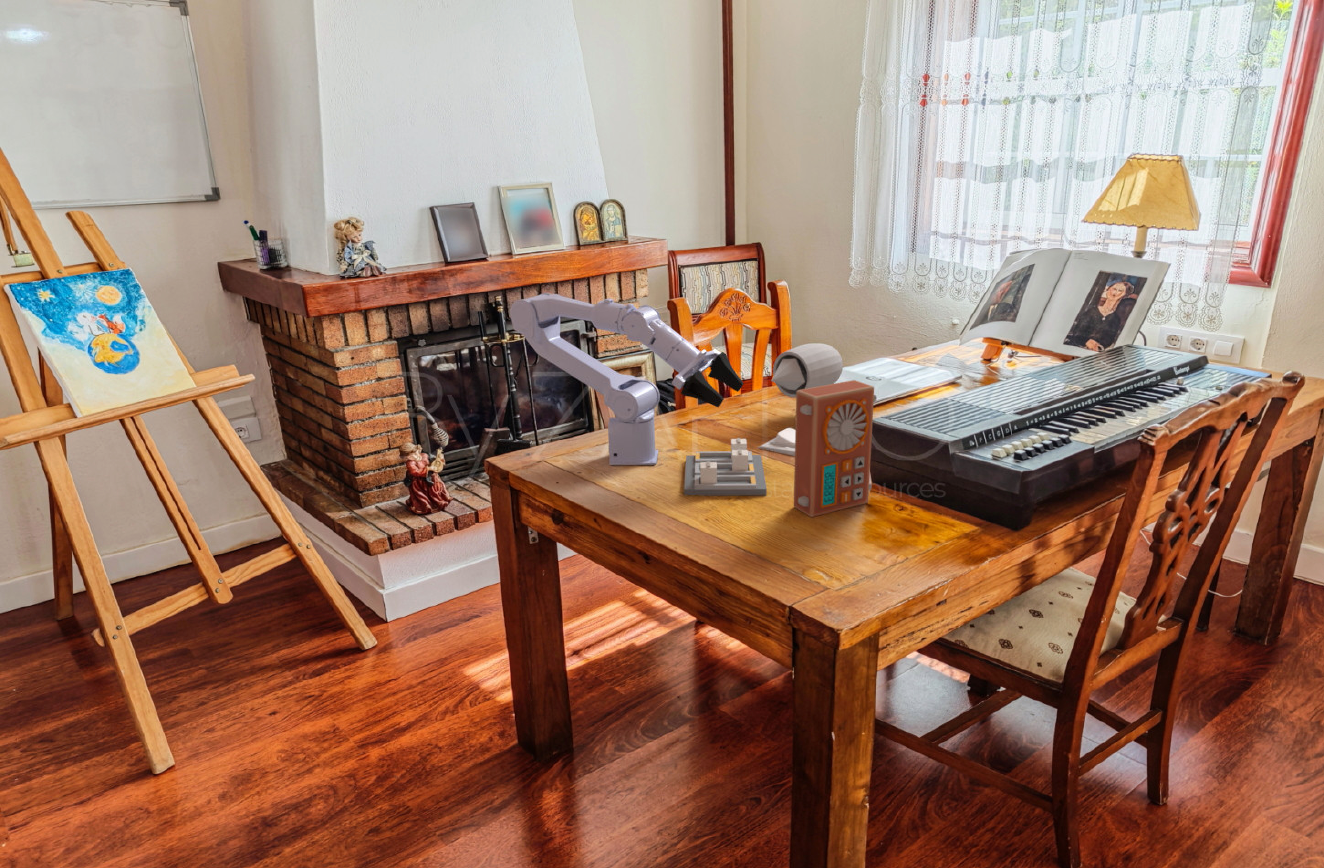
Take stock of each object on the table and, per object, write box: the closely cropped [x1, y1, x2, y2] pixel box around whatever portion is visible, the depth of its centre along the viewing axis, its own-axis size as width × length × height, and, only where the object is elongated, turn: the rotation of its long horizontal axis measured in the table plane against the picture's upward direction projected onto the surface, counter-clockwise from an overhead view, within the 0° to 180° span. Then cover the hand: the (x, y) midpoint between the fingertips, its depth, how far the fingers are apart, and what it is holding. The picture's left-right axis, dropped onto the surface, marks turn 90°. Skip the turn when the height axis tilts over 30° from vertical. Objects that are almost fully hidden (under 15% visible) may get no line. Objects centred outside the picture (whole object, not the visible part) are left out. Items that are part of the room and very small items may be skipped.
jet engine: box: [770, 342, 844, 399], centre depth 198 cm, size 15×20×18 cm
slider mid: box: [732, 449, 749, 471], centre depth 167 cm, size 3×3×4 cm
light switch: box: [757, 427, 796, 457], centre depth 183 cm, size 11×4×13 cm
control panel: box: [793, 379, 877, 518], centre depth 151 cm, size 21×7×15 cm
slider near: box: [700, 461, 717, 484], centre depth 161 cm, size 3×3×4 cm
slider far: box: [730, 437, 748, 459], centre depth 173 cm, size 3×3×4 cm
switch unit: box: [683, 450, 768, 496], centre depth 168 cm, size 15×18×2 cm
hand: (731, 395), depth 164 cm, fingers open, 7 cm apart
